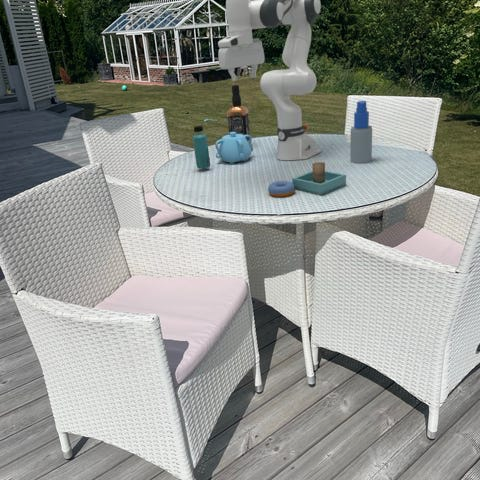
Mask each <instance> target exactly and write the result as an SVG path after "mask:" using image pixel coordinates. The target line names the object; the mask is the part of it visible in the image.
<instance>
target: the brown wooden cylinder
mask: <svg viewBox="0 0 480 480" xmlns="http://www.w3.org/2000/svg"><path fill="white" fill-rule="evenodd" d="M325 168H326V163H325V162H324V161H322V162H321V161H318V162H313V163H312V171H313V182H315V183H320V184H321V183H324V182H325V171H326V169H325Z"/></svg>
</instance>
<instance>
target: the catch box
mask: <svg viewBox="0 0 480 480" xmlns="http://www.w3.org/2000/svg"><path fill="white" fill-rule="evenodd" d="M291 179H292V183H293V184H294V186H295V191H301V192H304V193H309V194H312V195H313V194H314V195H316V196H324V195H327V194H329V193H331V192H333V191H336V190H338V189H340V188H342V187H345V186H346V185H347V175H346V174H343V173H339V172H338V173H337V172H332V171H328V170H325V182H324V183H321V184H320V183H315V182H313V170H312V171H311V170H310V171H309V172H306V173H304V174H301V175H298V176H295V177H294V178H291Z"/></svg>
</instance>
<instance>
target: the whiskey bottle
mask: <svg viewBox="0 0 480 480" xmlns="http://www.w3.org/2000/svg"><path fill="white" fill-rule="evenodd" d="M231 93H232V96H231V102H232V106H231V107H230V108H229V109H228V110H227V111H226V116H227V120H228V121H227V122H228V135H230V132H236V134H241V135H250V136H251V132H250V131H251V130H250V122H249V121H250V120H249V119H250V118H249V108H248V107H246V106H244V105H242V97H241V95H240V94H241V93H240V85H239V84H234V85H231ZM245 138H246V139H247V141H248V143H249V137H245ZM252 144H253V142H252V143H251V146H252V147H253V145H252Z"/></svg>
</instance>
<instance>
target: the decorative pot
mask: <svg viewBox="0 0 480 480" xmlns="http://www.w3.org/2000/svg"><path fill="white" fill-rule="evenodd" d="M245 137H249V143H248V141H247V139H246V138H245ZM251 143H252V144H253V138H252V136H251V134H250V135H241V134H236V132H230V135H229V134H227V135H224V136H222V137H221V139H218V140H216V142H215V144H214V146H215V149H216V150H217V152H216V154H215V157H216V158H217V159H221V160H222V161H224V162H227V163H229V164H230V163H231V165H232V163H233V164H235V163H237V162H246V161H247V160H248V159H249V158H250V157H251V155H252V152H253V151H254V147H253V145H252V146H251ZM218 144H219V145H218Z"/></svg>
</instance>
